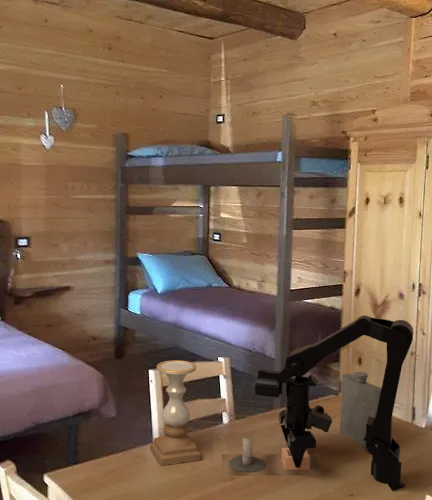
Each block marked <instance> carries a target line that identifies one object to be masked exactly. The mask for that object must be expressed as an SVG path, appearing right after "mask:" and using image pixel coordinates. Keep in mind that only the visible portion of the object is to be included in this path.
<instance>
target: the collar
mask: <svg viewBox="0 0 432 500" xmlns="http://www.w3.org/2000/svg"><path fill="white" fill-rule="evenodd" d="M307 450H308V449H306V451H305V453H304V456H303V459H302V463H301V466H300V467H299V468H296V467H295V464H294V461H293V458H292V455H291V453H290V450H289V448H288V447H281V454H282V457H281V459H282V462H283V465H284V468H285V470H309V469H310V457H309V455H308V454H309V453H308V451H307Z"/></svg>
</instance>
